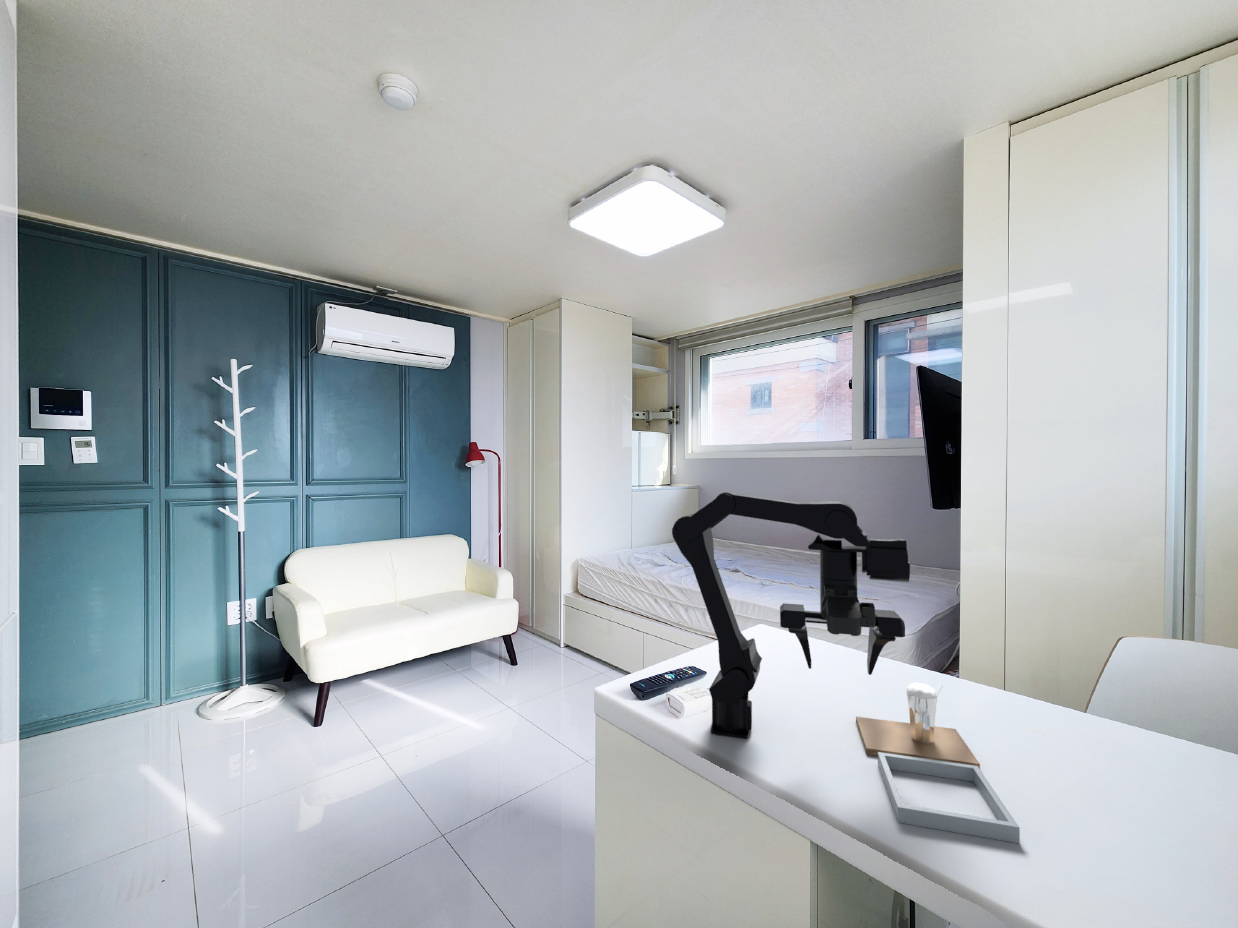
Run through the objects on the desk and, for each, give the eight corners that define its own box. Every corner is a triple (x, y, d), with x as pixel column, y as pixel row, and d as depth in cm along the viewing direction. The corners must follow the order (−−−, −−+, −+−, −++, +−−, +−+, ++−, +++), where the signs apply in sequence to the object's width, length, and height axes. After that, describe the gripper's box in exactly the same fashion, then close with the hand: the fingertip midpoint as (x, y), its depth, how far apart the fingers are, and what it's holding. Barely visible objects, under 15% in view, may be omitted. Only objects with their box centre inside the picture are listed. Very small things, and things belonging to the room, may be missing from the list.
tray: (898, 821, 68) (898, 806, 68) (877, 764, 81) (877, 751, 81) (1019, 843, 64) (1019, 827, 64) (977, 779, 77) (977, 765, 77)
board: (866, 754, 84) (866, 747, 84) (855, 721, 94) (855, 716, 94) (979, 770, 79) (979, 763, 79) (955, 734, 90) (955, 728, 90)
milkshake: (939, 751, 82) (938, 689, 82) (902, 739, 86) (902, 679, 86) (947, 741, 86) (946, 681, 86) (911, 729, 89) (911, 672, 89)
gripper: (780, 584, 80) (781, 684, 80) (914, 592, 75) (915, 698, 75) (779, 570, 91) (780, 658, 91) (896, 576, 86) (897, 669, 86)
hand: (839, 670), depth 85 cm, fingers open, 9 cm apart
